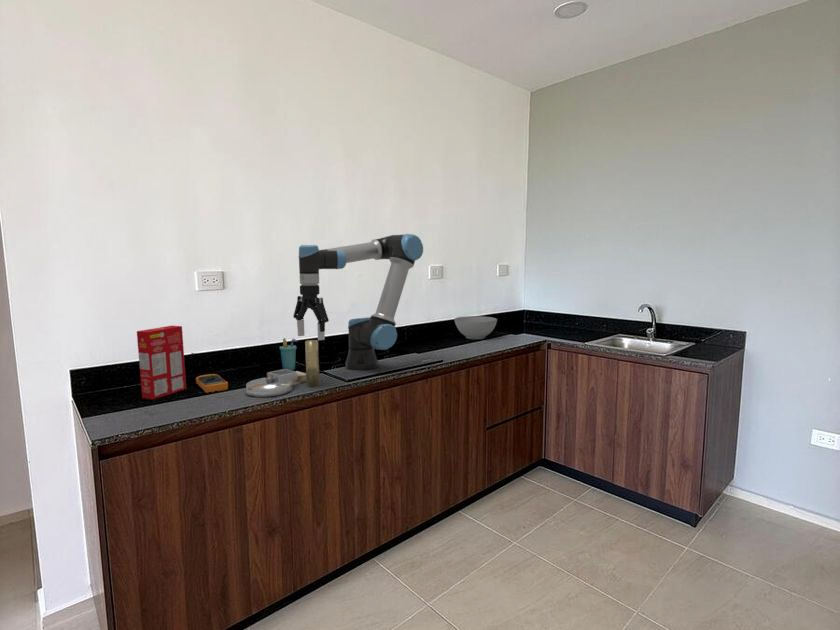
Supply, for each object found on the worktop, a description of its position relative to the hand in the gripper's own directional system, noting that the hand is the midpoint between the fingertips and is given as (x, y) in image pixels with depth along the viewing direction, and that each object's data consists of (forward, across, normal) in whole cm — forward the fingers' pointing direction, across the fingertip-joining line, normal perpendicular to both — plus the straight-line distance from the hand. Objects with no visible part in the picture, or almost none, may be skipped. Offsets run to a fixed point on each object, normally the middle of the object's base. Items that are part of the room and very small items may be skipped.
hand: (311, 337), depth 183 cm
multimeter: (+20, -29, -28) cm, 45 cm away
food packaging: (+20, -33, -44) cm, 58 cm away
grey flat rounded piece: (+19, -5, -16) cm, 26 cm away
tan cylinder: (+19, 0, 0) cm, 19 cm away
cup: (+20, -29, +8) cm, 36 cm away
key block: (+19, -10, -2) cm, 22 cm away
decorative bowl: (+19, -12, +132) cm, 134 cm away
